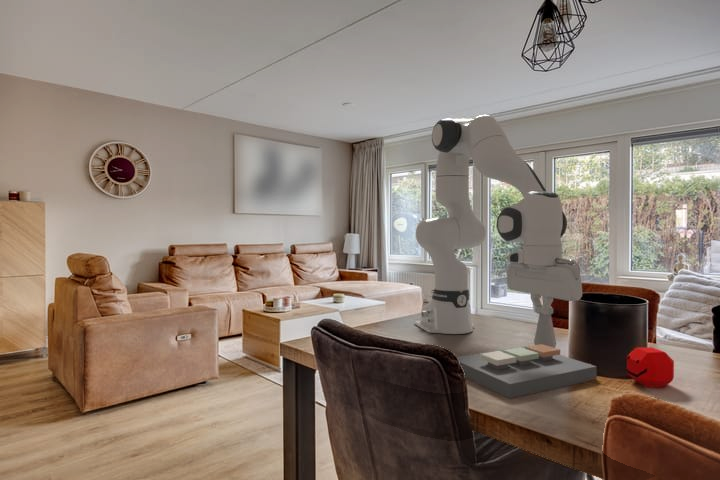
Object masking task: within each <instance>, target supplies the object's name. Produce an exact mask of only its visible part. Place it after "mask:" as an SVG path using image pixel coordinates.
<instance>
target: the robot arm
mask: <svg viewBox="0 0 720 480" xmlns="http://www.w3.org/2000/svg"><path fill="white" fill-rule="evenodd" d="M431 143H432V145H433V147H434V148H435V150H437V151H439V152H438V156H437V161H436V170H435V200H436V202H437V203H438V204H439V205H441V206H443V207H444V208H445V210H446V211H447V215H448V216H447V217H430V218H426V219H423V220H421V221H419V222H418V225H417V226H416V230H415V238H416V242H417V244H418V245H419V246H420V247H421V248H423V249H424V251H426V252H427V254H428V255H429V257H430V259H431V261H432V265H433V271H434V289H431V290H430V291H431V292H430V293H431V294H432V295H431V300H430V301H428V303H426V304H425V305H424V306H423V307H422V308H421V313H420V319H417V320H415V321H414V325H415V326H417V327H419V328H421V329H422V330H424V331H425V332H427V333H431V334H445V335H461V334H469V333H471V332H473V331H474V328H475V324H474V323H473V320H472V319H473V318H472V310H471V304H470V303H469V300H470V290H469V287H468V283H469V282H468V279H469V278H468V271H469V270H468V267H467V265H466V264H465V263H464V262H463V261H461V260H459V259H458V258H457V256H456V254H455V250H463V249H464V250H465V249H467V250H468V249H471V248H475V247H479V246H481V245H482V244H483V243H484V241H485V238H486V235H487V233H486V227H485V225H484V223H483V222H482V221H481V219H480V218H478V217H477V216H476V215H475V213H474V211H473V209H472V206H471V202H470V192H469V191H470V190H469V188H470V187H469V186H470V185H469V184H470V183H469V182H470V181H469V179H470V178H469V176H470V171H469V170H470V168H469V165H470V160H471V159H472V161H473V164H474V166H475V168H476V169H477V170H478V171H479V173H480V174H481V175H483V176H484V177H486V178H488V179H491V180H496V181H498V182H503V183H505V184H507V185H510V186H512V187H513V188H514V189H516V190H517V191H519V193H521V196H522V197H523V198H522V199H521V200H520V201H518V202H516V203H514V204H512V205H509V206H507V207H506V206H505V208H503V209H502V210H501V211H500V212H499V215H498V216H497V218H496V219H497V220H496V229H497V232H498V235H499V236H500V237H501V238H502V240H504V241H505V242H509V243H522V249H519V250H517V251H515V252H511V253H509V254H508V255H507V258H506V259H507V262H508V265H507V266H506V267H507V268H506V286H507V287H508V290H510V291H514V292H521V293H524V294H530V300H531V302H532V304H533V307H534V309H533V310H534V313H536V314H538V313H540V314H544V315H546V314H549V307H550V306H551V305H552V303H553V302H554V299H557V300H562V301H568V302H575V301H579V300H581V299H582V297H583V285H582V284H583V283H582V282H583V281H582V278H581V267H580V266H581V265H579V264H578V263H577V262H576V261H575V260H574V259H565V258H563V242H562V238H563V236H564V235H565V233H566V231H567V227H568V220H567V216H566V215H565V212H564V210H563V207H562V200H561V198H560V195H558V194H557V193H555V192H552V191H547V190H546V188H545V186H544V185H543V183H542V181H541V180H540V178H539V176H537V174H536V172H535V170H534V169H533V168H532V167H531V165H529V164H528V163H527V162H526V161H525V160H524V159H523V158H522V157H521V156H520V155H519V154H518V153H517V152H516V150H515V149H514V148H513V147H512V145H511V143H510V141H509V139H508V136H507V135H506V133H505V130H504V129H503V128H502V126H501V124H500V123H499V121H497V119H496V118H495V117H493V116H491V115H488V114H482V115H478V116H476V117H475V118H445V119H444V118H443V119H439V120H438V121H436V123H435V125H434V126H433V129H432V132H431ZM541 298H542V299H541ZM540 299H541V300H542V301H543V303H542V302H541V300H540Z"/></svg>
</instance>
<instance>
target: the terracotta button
mask: <svg viewBox="0 0 720 480" xmlns="http://www.w3.org/2000/svg"><path fill="white" fill-rule="evenodd" d="M526 346H527V347H525V349H527V350H530V351H534V352H537V353H539V358H538V359H537V360H540V361H549V360H553V356H555V355H561V349H559V348H556V347H555V348H553V347H550V346H547V345H543V344H539V345H535V344H534V345H526Z"/></svg>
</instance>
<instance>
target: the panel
mask: <svg viewBox="0 0 720 480" xmlns="http://www.w3.org/2000/svg"><path fill="white" fill-rule="evenodd" d="M527 346H528V345H525V346H518V347H516V348H520V347H521V348H524V349H525V347H527ZM514 348H515V347H512V348H510V349H514ZM508 349H509V348H505V349H499V350H497V351H501V352H503V350H508ZM495 351H496V350H494V351H493V350H492V351H491V352H495ZM489 352H490V351H486V352H485V353H489ZM483 353H484V352H480V353H475V354H466V355H461V356H456V357H457V358H458V360H459V362H460V365H461V366H462V368H463V370H464V373H465V376H466V377H465V378H466V379H469V380H471V381H472V382H475V383H477V384H479V385H481V386H482V387H486V388H487V389H490V390H491V391H494V393H497V394H499V395H502V396H503V397H505V398H508V399H514V398H518V397H524V396H528V395H533V394H537V393H541V392H547V391H549V390H554V389H559V388H563V387H567V386H568V387H570V386H572V385H577V384H581V383H585V382H586V383H587V382H590V381H595V380H597V373H598V372H597V366H596V365H593V364H591V363H587V362H583V361H581V360H577V359H574V358H571V357H567V356H565V355H561V354H560V355H555V356H553V360H549V361H540V360H537V359H532V360H531V364H527V365H518V364H515V363H510V364H508V368H505V369H500V370H497V369H494V368H492V367H489V366H488V362H487V361H484V360H482V359H480V354H483Z"/></svg>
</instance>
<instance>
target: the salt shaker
mask: <svg viewBox="0 0 720 480" xmlns="http://www.w3.org/2000/svg"><path fill="white" fill-rule="evenodd" d="M553 314H554V308H553V307H552V306H551V305H550V307H549V314H546V315H544V314H540V313H537V315H538V319H537V323H536V330H535V334H534V338H533V344H534V345H539V344H543V345H547V346H550V347H553V348H556V347H557V340H556V334H555V329H554V324H553V318H552V315H553Z"/></svg>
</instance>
